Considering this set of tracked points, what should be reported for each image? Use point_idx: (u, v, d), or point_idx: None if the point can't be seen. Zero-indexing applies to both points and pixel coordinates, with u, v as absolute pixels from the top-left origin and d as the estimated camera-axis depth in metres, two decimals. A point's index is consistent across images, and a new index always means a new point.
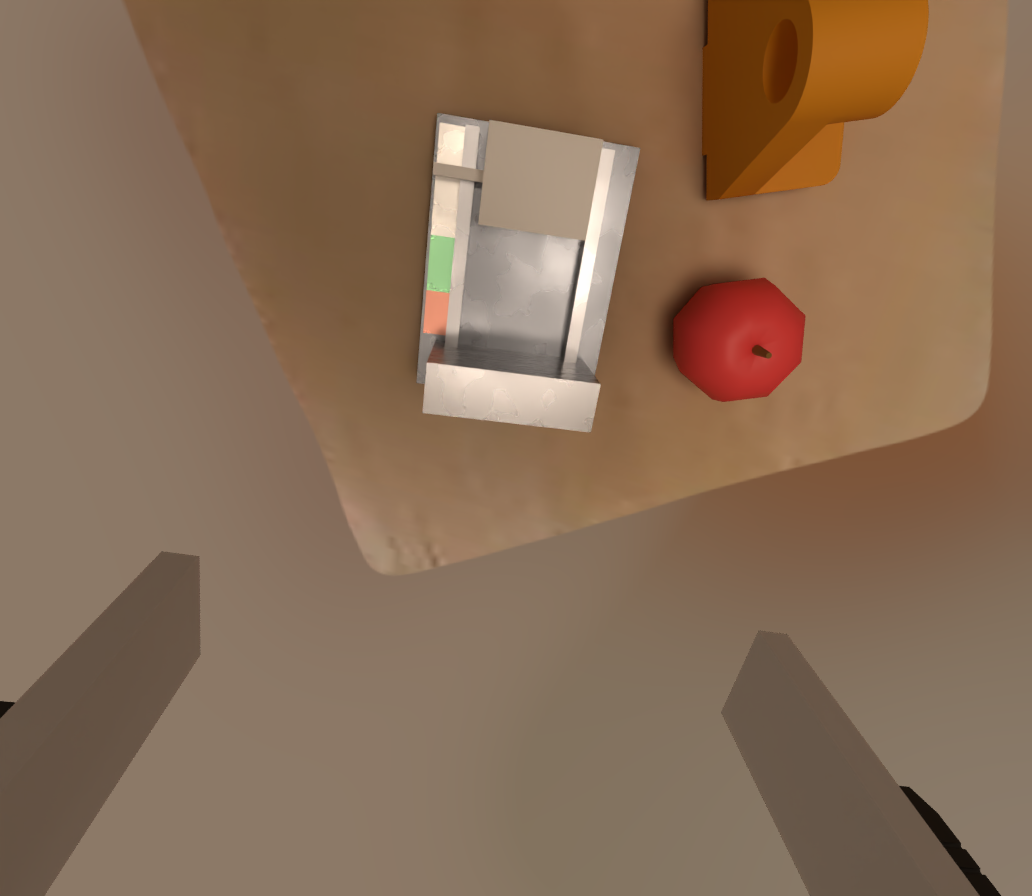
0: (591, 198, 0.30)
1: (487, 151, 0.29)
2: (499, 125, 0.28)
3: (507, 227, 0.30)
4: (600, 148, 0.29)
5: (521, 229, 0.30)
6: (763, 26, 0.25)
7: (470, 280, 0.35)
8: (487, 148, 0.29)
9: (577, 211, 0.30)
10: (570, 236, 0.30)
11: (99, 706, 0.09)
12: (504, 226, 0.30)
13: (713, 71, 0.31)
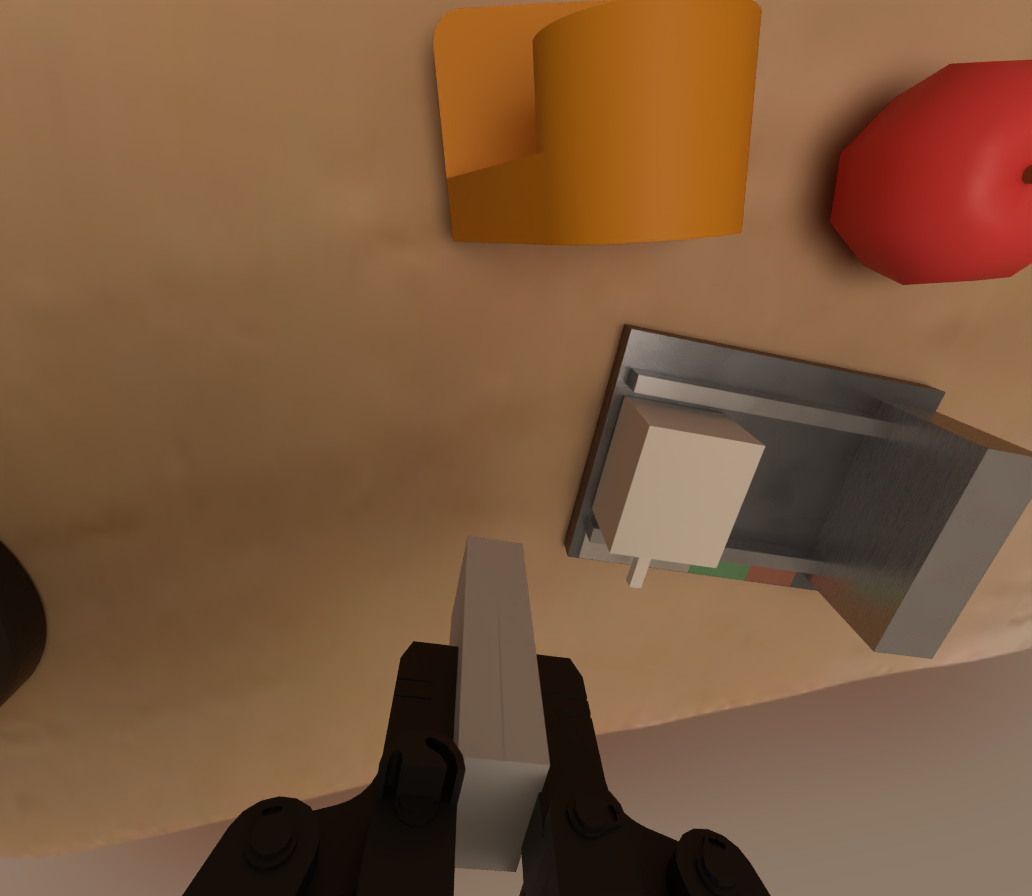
0: (716, 439, 0.22)
1: (641, 556, 0.24)
2: (617, 543, 0.24)
3: (727, 537, 0.24)
4: (659, 429, 0.22)
5: (733, 522, 0.24)
6: None
7: (743, 532, 0.29)
8: (638, 556, 0.24)
9: (727, 456, 0.23)
10: (755, 464, 0.23)
11: None
12: (725, 540, 0.24)
13: None
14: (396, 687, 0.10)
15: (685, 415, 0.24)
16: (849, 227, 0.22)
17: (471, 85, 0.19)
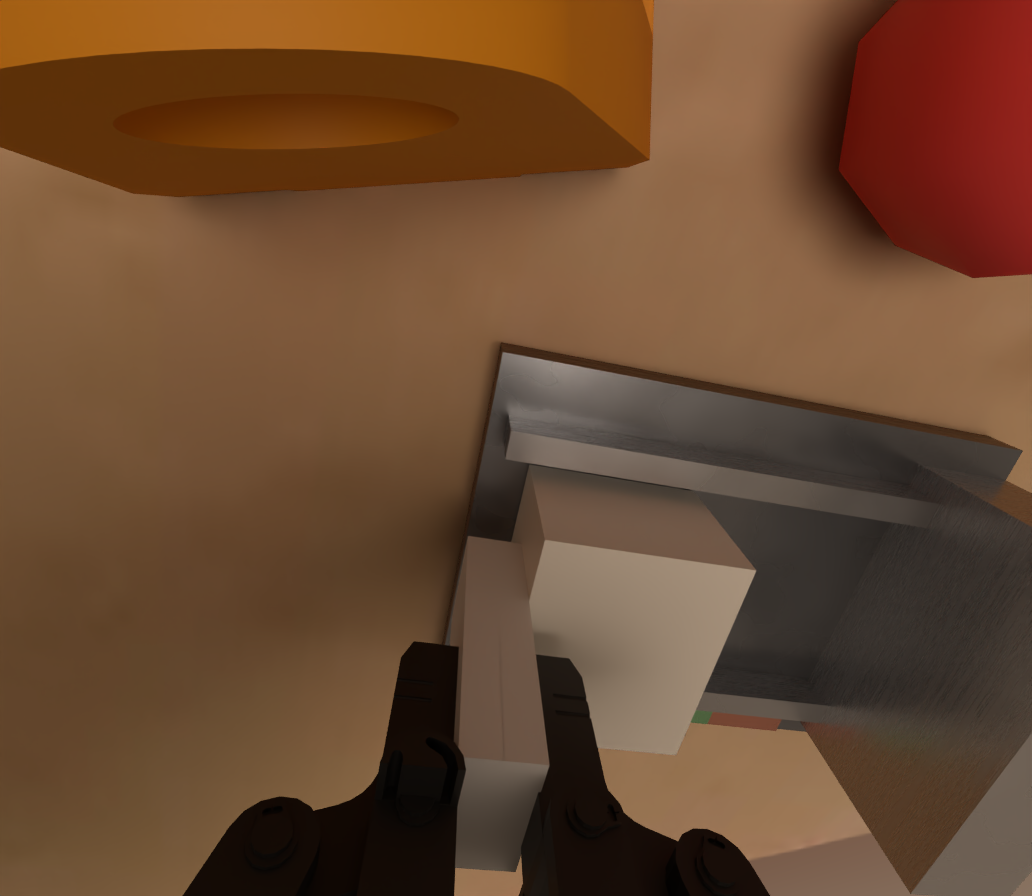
0: (667, 561, 0.12)
1: None
2: None
3: (693, 711, 0.14)
4: (562, 545, 0.12)
5: (702, 688, 0.14)
6: (196, 157, 0.07)
7: None
8: None
9: (688, 588, 0.13)
10: (738, 600, 0.13)
11: None
12: (689, 715, 0.14)
13: (343, 183, 0.12)
14: (396, 687, 0.10)
15: (624, 502, 0.15)
16: (875, 172, 0.12)
17: None
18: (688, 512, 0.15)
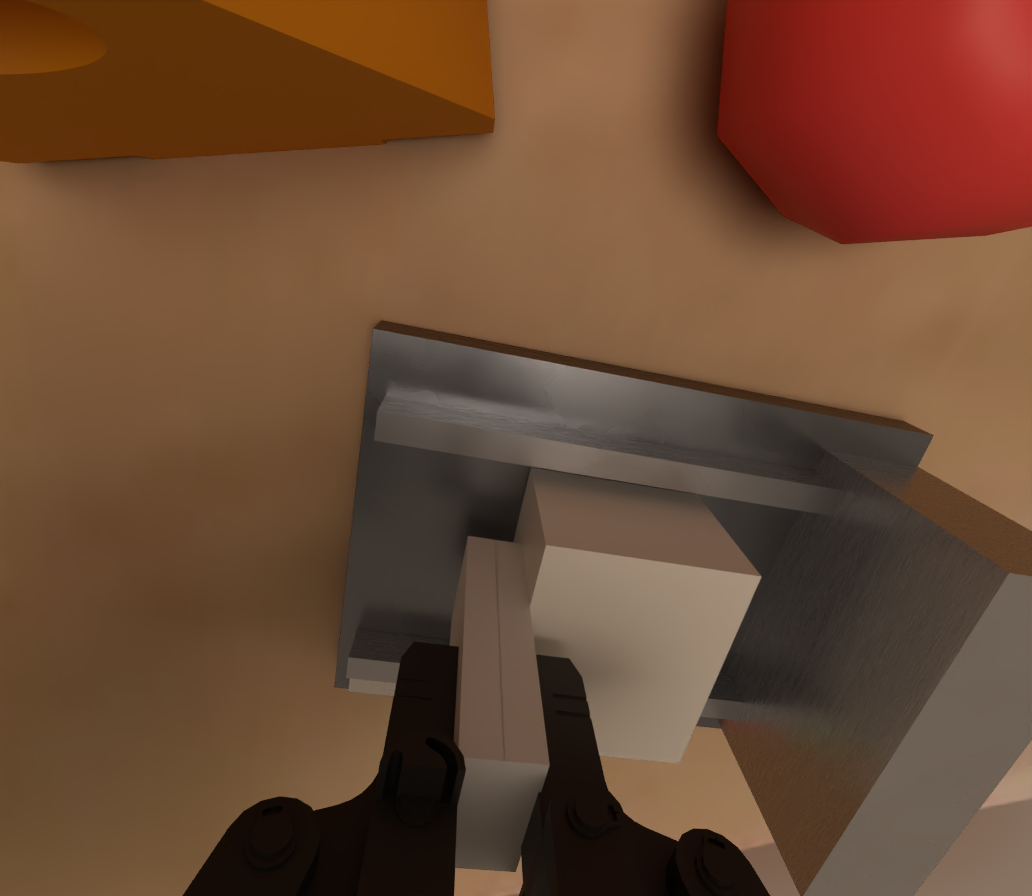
0: (670, 566, 0.12)
1: None
2: None
3: (696, 719, 0.14)
4: (563, 550, 0.12)
5: (706, 696, 0.14)
6: None
7: None
8: None
9: (692, 594, 0.12)
10: (743, 606, 0.13)
11: None
12: (693, 723, 0.14)
13: (182, 146, 0.12)
14: (396, 687, 0.10)
15: (626, 506, 0.14)
16: (737, 133, 0.11)
17: None
18: (692, 516, 0.15)
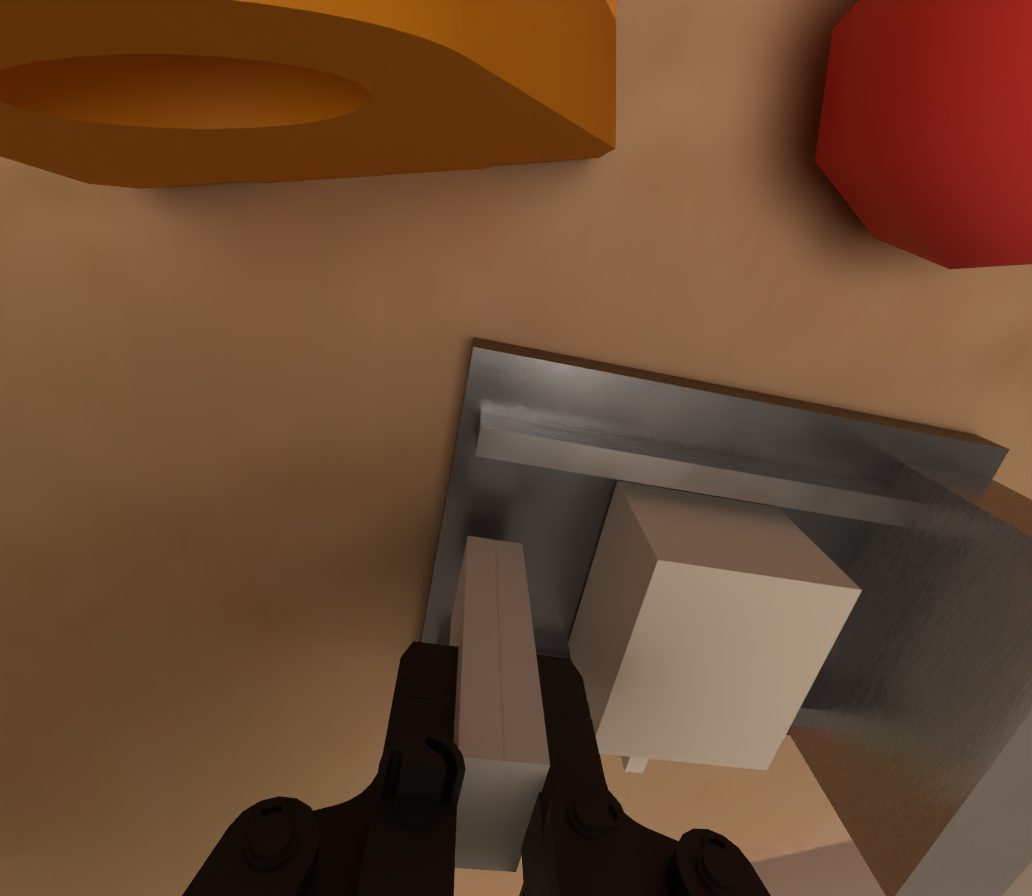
0: (775, 581, 0.12)
1: (643, 756, 0.14)
2: (601, 738, 0.14)
3: (787, 728, 0.14)
4: (674, 565, 0.12)
5: (798, 705, 0.14)
6: (119, 137, 0.07)
7: None
8: (638, 756, 0.14)
9: (793, 607, 0.13)
10: (842, 619, 0.13)
11: None
12: (783, 731, 0.14)
13: (306, 173, 0.12)
14: (396, 687, 0.10)
15: (717, 520, 0.15)
16: (848, 161, 0.12)
17: None
18: (779, 529, 0.15)
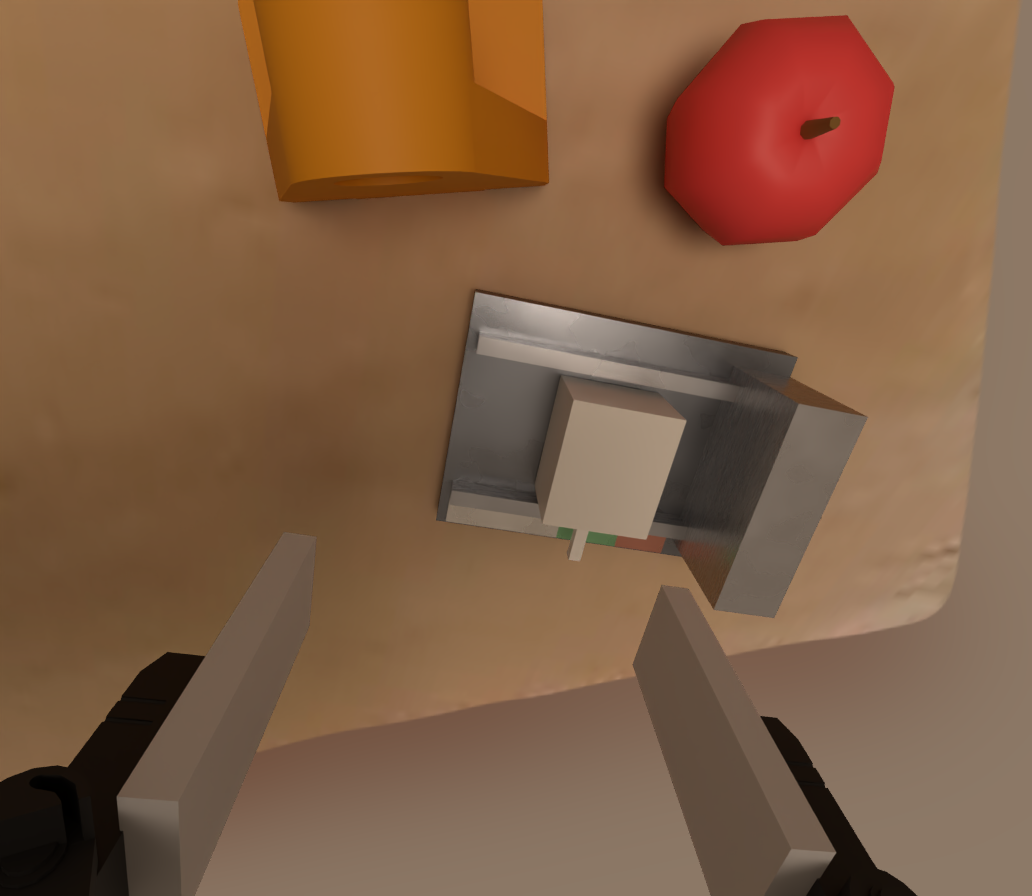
0: (638, 413, 0.23)
1: (573, 527, 0.25)
2: (548, 514, 0.25)
3: (655, 509, 0.25)
4: (582, 403, 0.23)
5: (660, 494, 0.25)
6: (341, 187, 0.17)
7: None
8: (570, 527, 0.25)
9: (649, 430, 0.24)
10: (678, 438, 0.24)
11: (264, 659, 0.10)
12: (653, 512, 0.25)
13: (386, 194, 0.23)
14: (115, 707, 0.09)
15: (616, 393, 0.25)
16: (670, 189, 0.22)
17: None
18: (653, 399, 0.26)
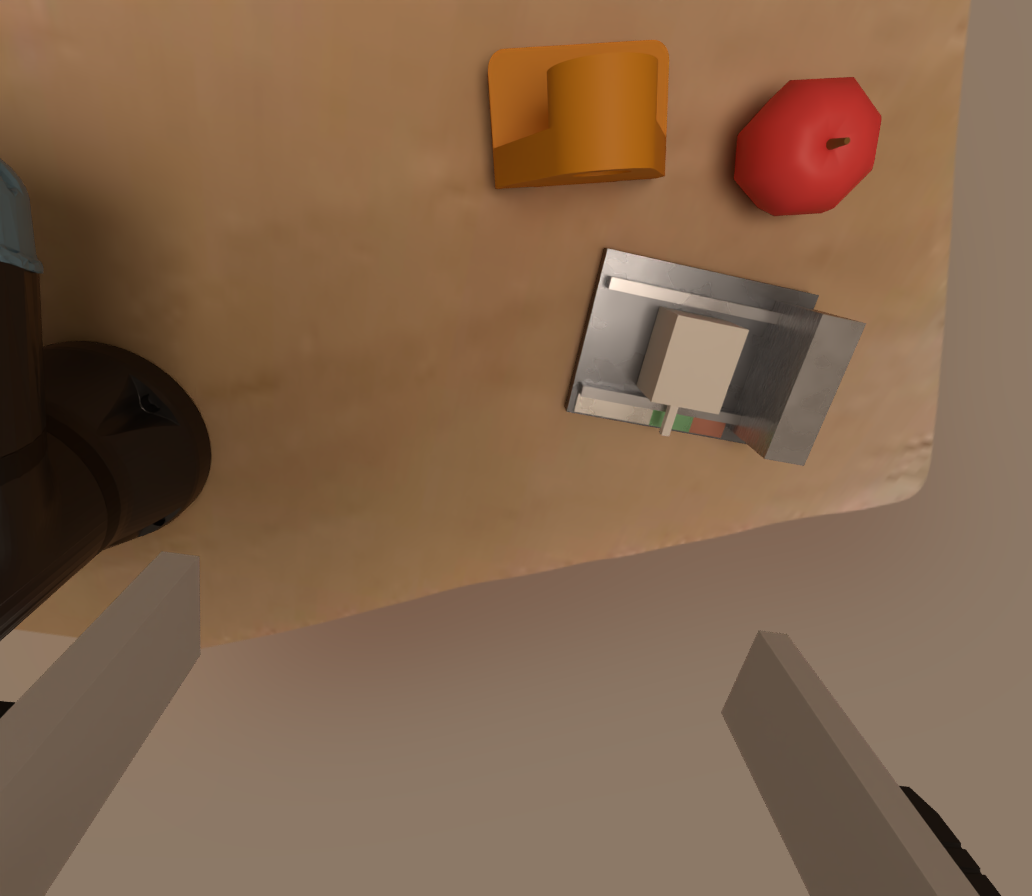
0: (718, 324, 0.36)
1: (671, 404, 0.38)
2: (656, 395, 0.38)
3: (725, 392, 0.38)
4: (683, 317, 0.36)
5: (729, 381, 0.38)
6: (564, 178, 0.30)
7: None
8: (669, 404, 0.38)
9: (725, 336, 0.36)
10: (743, 342, 0.37)
11: (99, 706, 0.09)
12: (724, 394, 0.38)
13: None
14: None
15: (699, 316, 0.38)
16: (740, 180, 0.35)
17: (509, 92, 0.33)
18: (723, 321, 0.39)
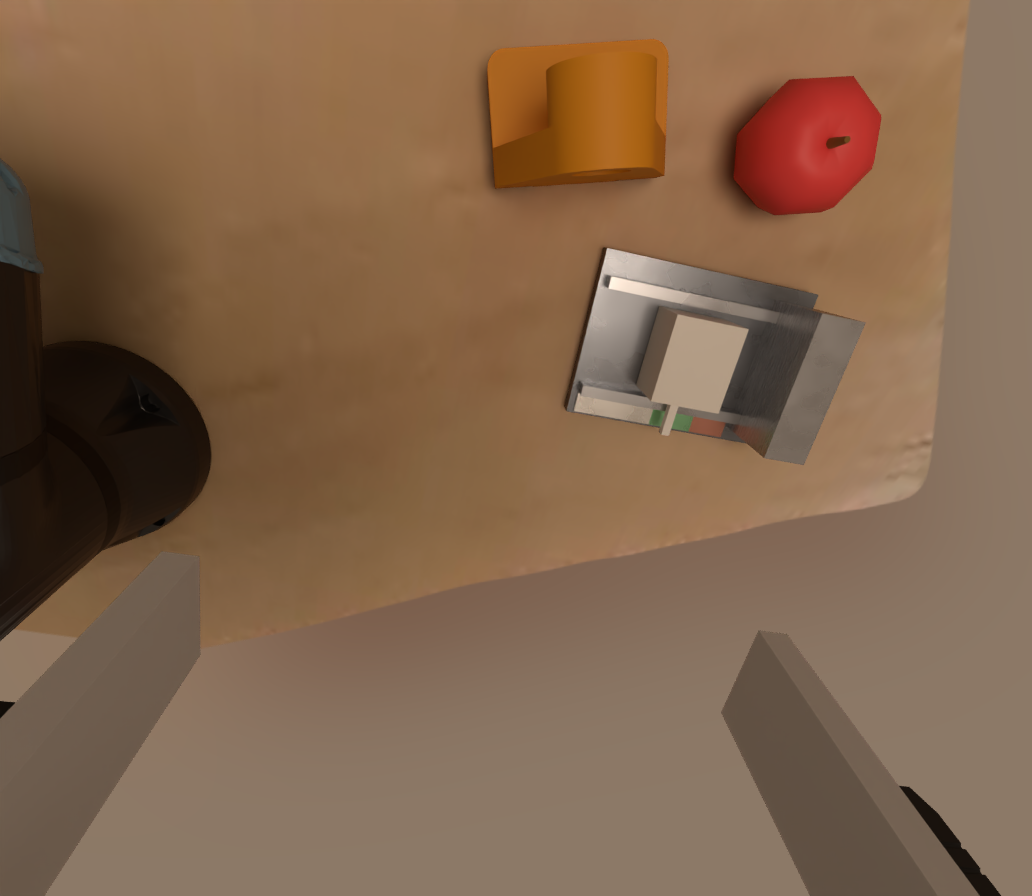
0: (718, 324, 0.36)
1: (671, 403, 0.38)
2: (655, 394, 0.38)
3: (725, 392, 0.38)
4: (683, 316, 0.36)
5: (729, 381, 0.38)
6: (563, 177, 0.30)
7: None
8: (669, 403, 0.38)
9: (725, 336, 0.36)
10: (742, 341, 0.37)
11: (99, 706, 0.09)
12: (724, 394, 0.38)
13: (558, 183, 0.36)
14: None
15: (699, 315, 0.38)
16: (740, 180, 0.35)
17: (509, 92, 0.33)
18: (723, 320, 0.39)
